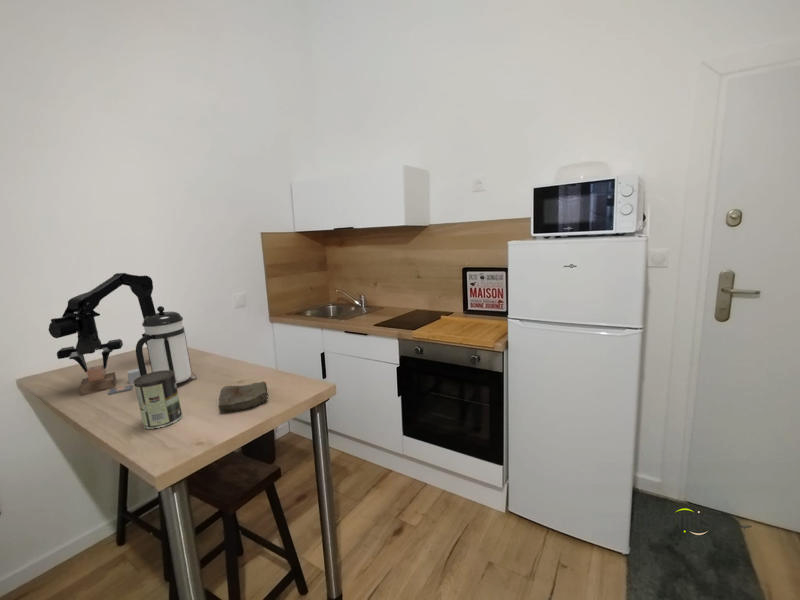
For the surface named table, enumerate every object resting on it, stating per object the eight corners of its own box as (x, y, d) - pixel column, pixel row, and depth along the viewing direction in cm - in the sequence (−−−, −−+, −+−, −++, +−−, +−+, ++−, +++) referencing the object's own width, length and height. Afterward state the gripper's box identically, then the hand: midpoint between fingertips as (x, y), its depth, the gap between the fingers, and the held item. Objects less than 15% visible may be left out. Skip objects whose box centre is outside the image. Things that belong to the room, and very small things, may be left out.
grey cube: (144, 378, 153) (142, 367, 152) (142, 381, 149) (140, 371, 149) (131, 380, 151) (128, 370, 150) (129, 384, 147) (127, 373, 147)
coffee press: (150, 382, 147) (135, 306, 142) (196, 373, 154) (184, 300, 149) (144, 399, 132) (127, 314, 126) (196, 387, 139) (182, 307, 133)
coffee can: (175, 409, 122) (167, 367, 119) (187, 418, 115) (179, 374, 112) (138, 423, 114) (128, 378, 112) (148, 433, 107) (139, 386, 105)
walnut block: (116, 381, 153) (114, 372, 152) (115, 389, 144) (113, 379, 144) (84, 388, 147) (82, 378, 146) (81, 396, 139) (79, 386, 138)
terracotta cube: (106, 375, 148) (103, 364, 147) (103, 379, 144) (101, 368, 143) (92, 378, 146) (89, 367, 145) (89, 382, 142) (86, 370, 141)
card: (133, 385, 145) (133, 384, 145) (131, 390, 141) (131, 388, 141) (110, 390, 142) (110, 388, 142) (108, 395, 138) (107, 393, 138)
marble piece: (223, 396, 130) (221, 385, 130) (268, 388, 135) (266, 377, 134) (217, 417, 115) (215, 404, 114) (268, 407, 119) (266, 395, 119)
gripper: (47, 340, 130) (57, 383, 133) (113, 330, 139) (122, 370, 142) (57, 333, 140) (67, 373, 143) (119, 324, 149) (127, 362, 151)
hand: (96, 370), depth 145 cm, fingers open, 5 cm apart
